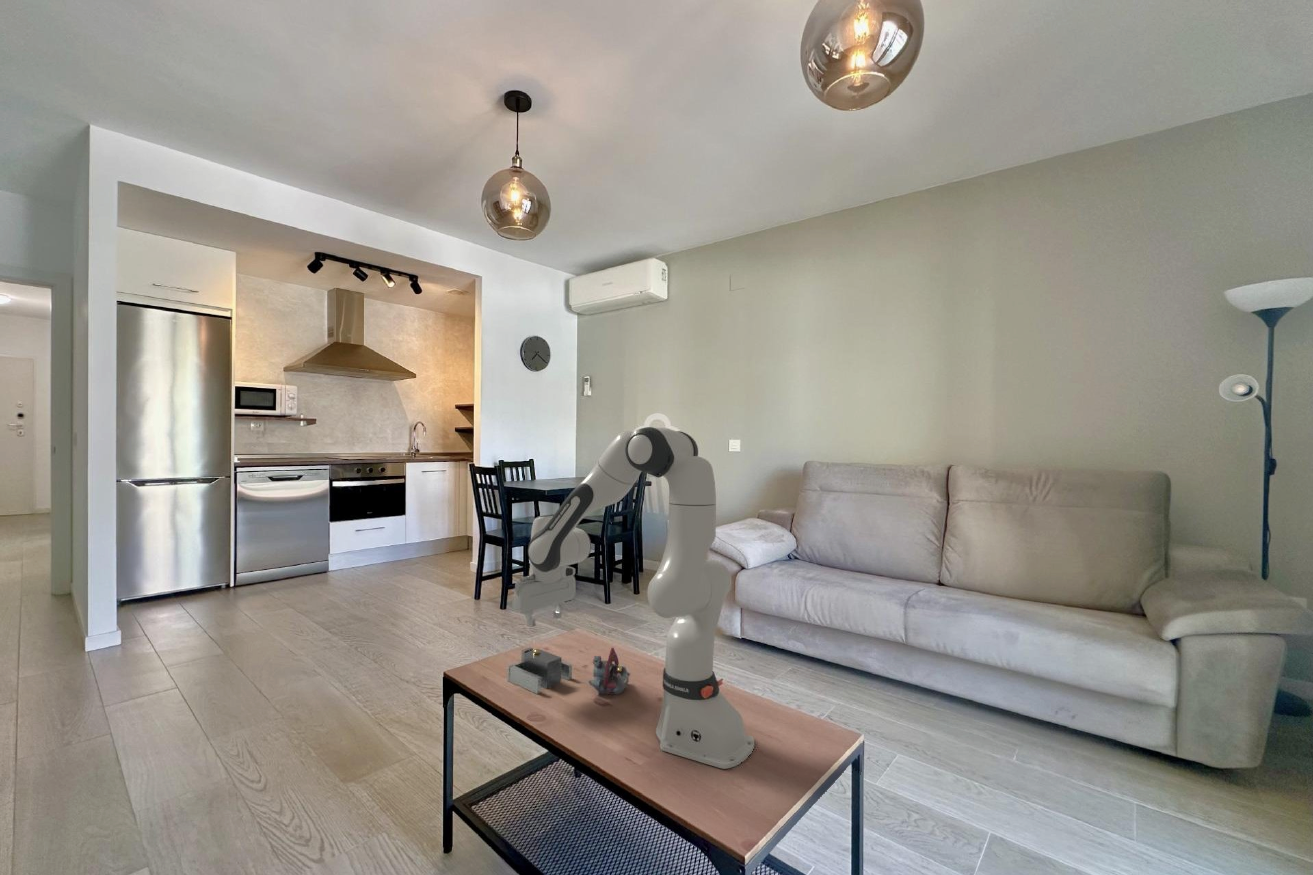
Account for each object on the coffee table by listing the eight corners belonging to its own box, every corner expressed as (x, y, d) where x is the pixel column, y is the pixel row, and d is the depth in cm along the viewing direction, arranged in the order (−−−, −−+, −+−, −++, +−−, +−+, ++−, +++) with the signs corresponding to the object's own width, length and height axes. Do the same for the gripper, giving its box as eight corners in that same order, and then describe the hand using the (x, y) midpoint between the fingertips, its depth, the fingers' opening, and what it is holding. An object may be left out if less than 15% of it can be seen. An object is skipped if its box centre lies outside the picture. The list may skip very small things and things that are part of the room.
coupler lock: (560, 683, 145) (561, 654, 146) (546, 689, 141) (547, 659, 142) (536, 673, 151) (537, 645, 152) (522, 678, 147) (523, 650, 148)
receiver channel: (571, 678, 148) (572, 653, 148) (537, 693, 138) (538, 667, 138) (541, 666, 155) (542, 642, 156) (507, 680, 146) (508, 654, 146)
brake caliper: (629, 691, 136) (603, 651, 138) (596, 713, 138) (571, 672, 140) (640, 674, 147) (616, 637, 149) (609, 694, 149) (587, 657, 151)
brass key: (627, 671, 154) (627, 666, 154) (624, 676, 151) (624, 670, 151) (603, 668, 156) (604, 663, 156) (600, 673, 153) (600, 668, 153)
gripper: (523, 580, 137) (522, 633, 136) (579, 568, 153) (578, 615, 153) (508, 576, 141) (506, 628, 140) (564, 565, 157) (563, 611, 157)
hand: (544, 621), depth 147 cm, fingers open, 8 cm apart
